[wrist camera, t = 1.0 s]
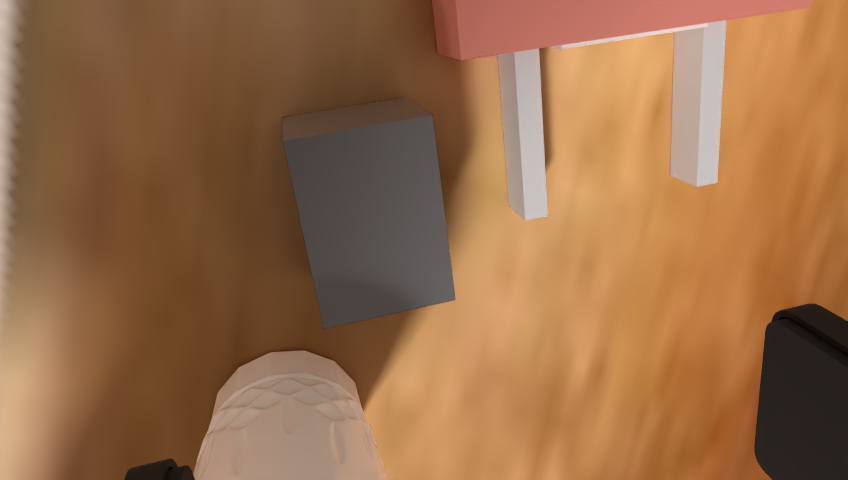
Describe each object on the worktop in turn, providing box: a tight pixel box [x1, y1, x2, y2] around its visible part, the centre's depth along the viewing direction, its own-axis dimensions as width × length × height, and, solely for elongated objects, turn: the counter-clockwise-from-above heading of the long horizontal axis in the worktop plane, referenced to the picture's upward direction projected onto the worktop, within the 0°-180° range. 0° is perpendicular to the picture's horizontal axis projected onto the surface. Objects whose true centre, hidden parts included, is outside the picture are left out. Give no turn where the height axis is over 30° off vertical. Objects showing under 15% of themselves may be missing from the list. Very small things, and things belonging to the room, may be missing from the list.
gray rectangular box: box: [282, 97, 455, 329], centre depth 24 cm, size 7×5×5 cm
